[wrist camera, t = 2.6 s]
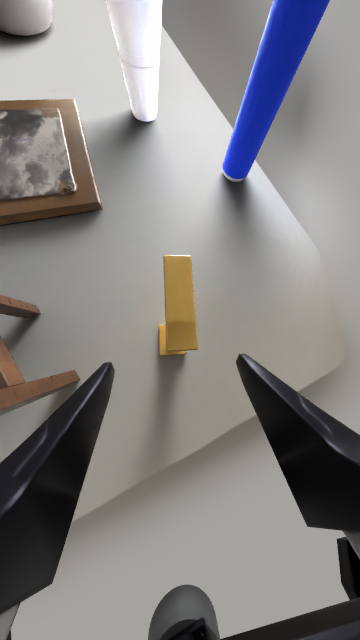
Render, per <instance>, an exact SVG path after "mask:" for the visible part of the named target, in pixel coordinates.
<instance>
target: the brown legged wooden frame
mask: <svg viewBox="0 0 360 640" xmlns="http://www.w3.org/2000/svg"><path fill="white" fill-rule="evenodd" d="M0 314H5V315H11V316H16V317H21V318H26V319H32V318H33V317H35V316H37V315H39V314H40V312H39V310H38V308H37V307H36V305H33V304H30V303H26V302H23V301H20V300H17V299H13V298H10V297H7V296H4V295H0ZM78 380H80V379H79V377H78V375H77V374H76V372H75V370H73V371H69V372H65V373H61V374H58V375H54V376H50V377H46V378H42V379H39V380H35V381H31V382H27V383H25V380H24V378H23V377H22V375H21V373H20V371H19V369H18V367H17V366H16V364H15V362H14V360H13V358H12V356H11V355H10V353H9V351H8V349H7V347H6V346H5V344H4V342H3V340H2V338H1V336H0V415H2V414H5V413H7V412H10V411H12V410H14V409H17V408H19V407H22V406H24V405H26V404H29V403H31V402H33V401H36V400H38V399H41V398H43V397H45V396H48V395H50V394H53V393H55V392H57V391H60V390H62V389H65V388H67V387H69V386H71V385H72V384H74V383H75V382H77V381H78Z"/></svg>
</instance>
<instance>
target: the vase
mask: <svg viewBox="0 0 360 640" xmlns="http://www.w3.org/2000/svg"><path fill="white" fill-rule="evenodd" d="M53 17H54V7H53V0H0V30H1V31H4V32H6V33H10V34H15V35H35V34H39V33H42V32H44V31H45V30H47V29H48V28H49V27H50V25H51V24H52V21H53Z"/></svg>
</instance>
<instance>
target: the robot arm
mask: <svg viewBox="0 0 360 640" xmlns="http://www.w3.org/2000/svg"><path fill="white" fill-rule="evenodd" d="M236 365H237V368H238V371H239V374H240V376H241V379H242V382H243V385H244V387H245V390H246V392H247V394H248V396H249V398H250V401H251V403H252V405H253V407H254V409H255V412H256V414H257V416H258V418H259V421H260V423H261V425H262V427H263V429H264V432H265V434H266V436H267V438H268V440H269V443H270V445H271V447H272V449H273V452H274V454H275V456H276V458H277V460H278V463H279V465H280V467H281V470H282V472H283V474H284V476H285V478H286V480H287V483H288V485H289V487H290V489H291V491H292V494H293V496H294V498H295V500H296V503H297V505H298V507H299V509H300V512H301V514H302V516H303V518H304V520H305V522H306V524H307V526H308V527H315V528H324V529H333V530H342V531H343V532H344V534H345V535H346V537H343V538H339V539H337V544H338V555H339V563H340V564H339V565H340V574H341V583H342V585H343V587H344V589H345V591H346V593H347V595H348V597H349V599H350V600H349V601H346V602H343V603H339V604H336V605H333V606H329V607H326V608H323V609H320V610H316V611H313V612H310V613H306V614H303V615H300V616H296V617H293V618H290V619H286V620H283V621H280V622H276V623H273V624H270V625H266V626H263V627H260V628H256V629H253V630H250V631H246V632H243V633H240V634H237V635H233V636H230V637H226V638H223V639H220V640H360V435H359V434H357V433H356V432H354V431H353V430H351V429H350V428H348V427H347V426H345V425H344V424H342V423H341V422H339V421H338V420H336V419H335V418H333V417H332V416H330V415H329V414H327V413H326V412H324V411H323V410H321V409H320V408H318V407H317V406H315V405H314V404H313V403H311V402H310V401H309V400H307V399H306V398H304V397H303V396H301V395H300V394H298V392H296V391H295V390H294V389H292V388H291V387H290V386H288V385H287V384H285V383H284V382H283V381H281V380H280V379H279V378H277V377H276V376H275V375H273V374H272V373H271V372H269V371H268V370H267V369H265V368H264V367H263V366H261V365H260V364H258V363H257V362H256V361H254V360H253V359H252V358H250V357H249V356H248V355H246V354H239V356H238V358H237V360H236ZM114 372H115V371H114V368H113V365H112V363H111V362H107V363H104V364H102V365H101V366H100V367H99V368H98V369H97V370H96V371H95V372H94V373H93V374H92V375H91V376H90V377H89V378H88V379H87V380H86V381H85V382H84V383H83V384H82V385H81V386H80V387H79V388H78V389H77V390H76V391H75V392H74V393H73V394H72V395H71V396H70V397H69V398H68V399H67V400H66V401H65V402H64V403H63V404H62V405H61V406H60V407H59V408H58V409H57V410H56V411H55V412H54V413H53V414H52V415H51V416H50V417H49V418H48V419H47V420H46V421H45V422H44V423H43V424H42V425H41V426H40V427H39V428H38V429H37V430H36V431H35V432H34V433H33V434H32V435H31V436H30V437H28V438H27V439H26V440H25V441H24V442H23V443H22V444H21V445H20V446H19V447H18V448H17V449H16V450H14V451H13V452H12V453H11V454H10V455H9V456H8V457H7V458H6V459H4V460H3V461H2V462H1V463H0V640H11V626H12V623H13V621H14V618H15V616H16V613H17V610H18V608H19V605H20V603H21V602H22V601H24V600H25V599H27V598H29V597H30V596H32V595H34V594H35V593H37V592H39V591H40V590H42V589H44V588H45V587H47V586H49V585H50V584H52V582H53V579H54V576H55V573H56V570H57V566H58V563H59V560H60V557H61V554H62V551H63V547H64V544H65V541H66V537H67V534H68V531H69V528H70V524H71V521H72V518H73V515H74V512H75V508H76V505H77V502H78V499H79V495H80V492H81V489H82V485H83V482H84V479H85V476H86V472H87V469H88V466H89V463H90V459H91V456H92V453H93V450H94V446H95V443H96V440H97V437H98V433H99V430H100V427H101V424H102V420H103V417H104V414H105V411H106V407H107V404H108V401H109V397H110V393H111V388H112V383H113V378H114ZM168 640H211V638H210V635H209V631H208V627H207V623H206V620H205V618H203V617H201V618H199V619H198V620H196V621H195V622H193V623H192V624H190V625H189V626H187V627H186V628H185V629H183V630H182V631H180V632H179V633H177V634H176V635H174V636H173V637H171V638H170V639H168Z"/></svg>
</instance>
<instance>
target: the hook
mask: <svg viewBox="0 0 360 640" xmlns="http://www.w3.org/2000/svg"><path fill="white" fill-rule="evenodd" d="M164 287H165V318H166V325H159V337H160V355H176V354H186V351H188V350H197V349H198V342H197V329H196V316H195V303H194V290H193V277H192V264H191V256H185V255H164Z"/></svg>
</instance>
